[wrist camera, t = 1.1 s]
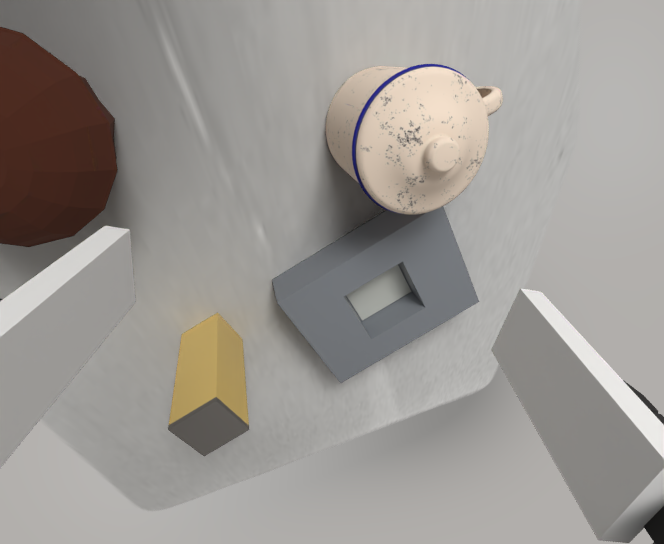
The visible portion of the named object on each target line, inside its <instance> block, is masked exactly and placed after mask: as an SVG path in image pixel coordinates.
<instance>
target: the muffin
mask: <svg viewBox="0 0 664 544" xmlns="http://www.w3.org/2000/svg"><path fill="white" fill-rule="evenodd" d="M114 119H115V118H114V117H113V116H112V115H111V114H110V113H109V111H108V110H107V109H106V108H105V107H104V106H103V104H102V103H101V102H100V101H99V100H98V98H97V97H96V95H95V93H94V92H93V90H92V88H91V87H90V85H89V84H88V82H87V80H86V79H85V78H83V77H81V76H78V74H77V73H76V72H75V71H73V70H72V69H71V68H69V67H68V66H66V65H65V64H64V63H62V62H61V61H60V60H58V59H57V58H56V57H54V56H53V55H52V54H50V53H49V52H48V51H46V50H45V49H43V48H42V47H41V46H39V45H38V44H37V43H35V42H34V41H33V40H31V39H30V38H29V37H27V36H26V35H24V34H23V33H20V32H16V31H13V30H9V29H6V28H2V27H0V243H2V244H10V245H17V246H25V247H31V246H35V245H39V244H43V243H47V242H51V241H55V240H59V239H63V238H67V237H71V236H74V235H75V234H76V233H77V232H78V231H80V230H81V229H82V228H83V227H84V226H85V225H87V224H88V223H89V222H90V221H91V220H92V219H94V218H95V217H96V216H97V215H98V214H99V213H101V212H102V211H103V210H104V209H105V206H106V203H107V200H108V197H109V194H110V191H111V188H112V185H113V182H114V179H115V176H116V173H117V164H116V153H115V146H114V139H113V137H114Z"/></svg>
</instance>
